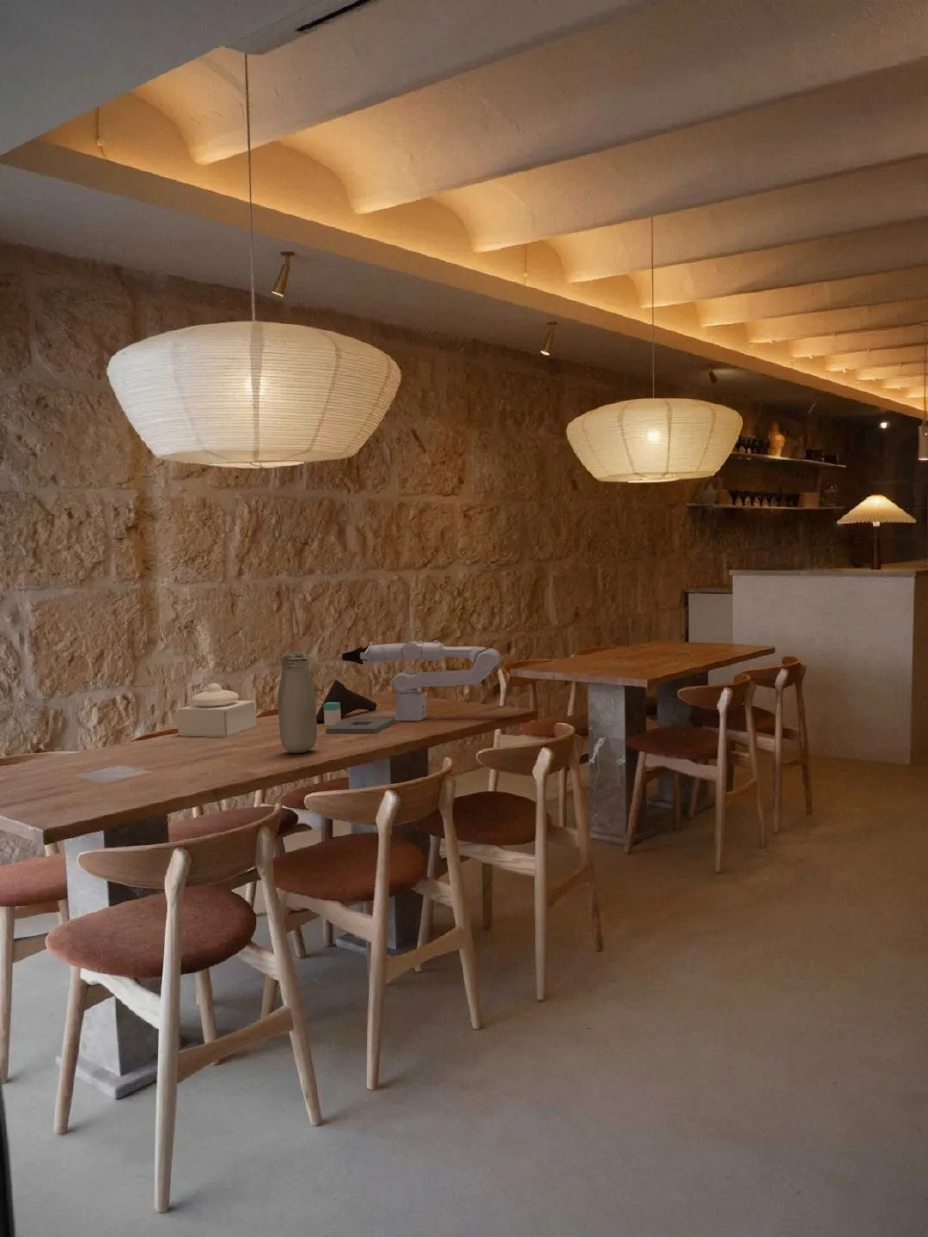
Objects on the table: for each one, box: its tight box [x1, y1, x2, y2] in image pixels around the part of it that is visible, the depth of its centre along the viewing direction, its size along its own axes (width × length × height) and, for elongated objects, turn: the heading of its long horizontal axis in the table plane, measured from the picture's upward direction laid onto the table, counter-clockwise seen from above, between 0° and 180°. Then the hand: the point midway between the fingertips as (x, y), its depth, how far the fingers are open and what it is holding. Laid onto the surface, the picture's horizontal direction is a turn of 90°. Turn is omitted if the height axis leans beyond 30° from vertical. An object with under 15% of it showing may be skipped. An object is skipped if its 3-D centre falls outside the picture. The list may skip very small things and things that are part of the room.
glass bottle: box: [277, 651, 318, 754], centre depth 275 cm, size 10×10×28 cm
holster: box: [316, 679, 378, 723], centre depth 334 cm, size 5×16×25 cm
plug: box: [324, 702, 342, 726], centre depth 319 cm, size 4×4×7 cm
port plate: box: [325, 717, 396, 735], centre depth 310 cm, size 16×18×2 cm
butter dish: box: [176, 682, 257, 738], centre depth 316 cm, size 18×18×16 cm
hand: (346, 656), depth 326 cm, fingers open, 7 cm apart
